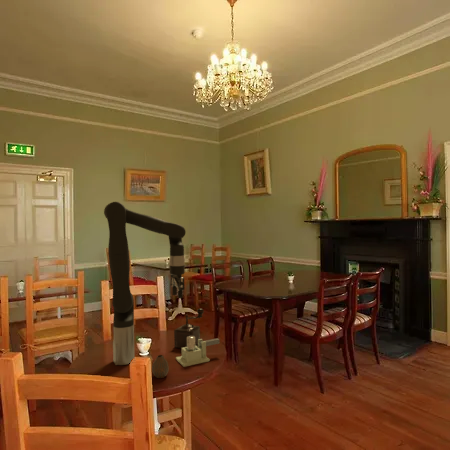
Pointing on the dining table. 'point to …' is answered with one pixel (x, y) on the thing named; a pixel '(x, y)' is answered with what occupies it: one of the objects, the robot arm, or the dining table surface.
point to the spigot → (191, 343)
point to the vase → (160, 367)
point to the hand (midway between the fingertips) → (177, 296)
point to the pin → (210, 342)
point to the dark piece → (187, 332)
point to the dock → (193, 355)
